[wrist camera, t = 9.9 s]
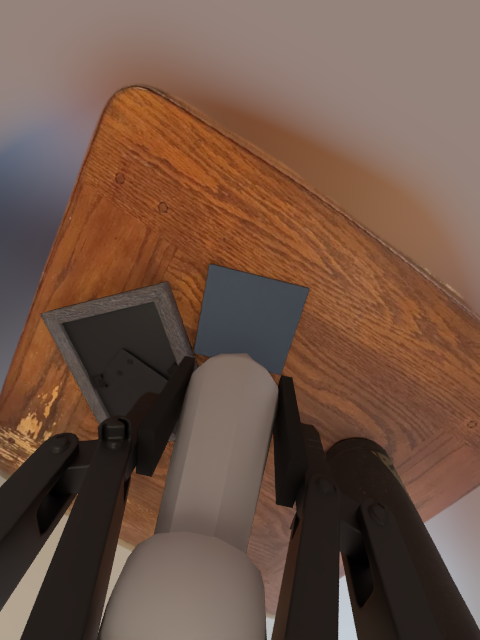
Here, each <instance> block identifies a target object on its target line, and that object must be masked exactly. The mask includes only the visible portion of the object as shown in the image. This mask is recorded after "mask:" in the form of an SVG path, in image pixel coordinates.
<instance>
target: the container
mask: <svg viewBox="0 0 480 640" xmlns="http://www.w3.org/2000/svg"><path fill="white" fill-rule="evenodd" d="M326 462H327V466H328V469H329V473H330V476H331V478H332V479H333V480H334V481H335V482H336V483H337V485H338V487H339V489H340V490H341V491H342V492H343V493H345V494H347V495H348V496H350V497H352V498H354V499H356V500H358V501H360V502H361V501H362V499H364V498H366V497H370V498H374V499H376V500H379V501H380V502H381V503H383V504H384V505H385V506H386V507H387V508H388V509H389V510H390V511H391V513H392V514H393V516H394V518H395V520H396V522H397V525H398V527H399V530H400V532H401V535H402V537H403V540H404V542H405V544H406V547H407V549H408V552H409V554H410V557H411V559H412V562H413V564H414V567H415V569H416V572H417V574H418V576H419V579H420V581H421V584H422V586H423V589H424V591H425V594H426V596H427V599H428V601H429V604H430V606H431V609H432V611H433V613H434V616H435V618H436V621H437V623H438V626H439V628H440V631H441V633H442V636H443V638H444V640H480V630H479V628H478V626H477V624H476V622H475V620H474V618H473V616H472V615H471V613H470V611H469V609H468V607H467V605H466V604H465V601H464V600H463V598H462V596H461V594H460V592H459V590H458V588H457V586H456V585H455V583H454V581H453V579H452V577H451V576H450V573H449V572H448V569H447V567H446V565H445V564H444V562H443V560H442V558H441V556H440V554H439V552H438V550H437V548H436V546H435V544H434V542H433V540H432V538H431V537H430V535H429V533H428V531H427V529H426V527H425V525H424V523H423V521H422V519H421V517H420V515H419V513H418V512H417V510H416V508H415V506H414V504H413V502H412V500H411V498H410V496H409V494H408V493H407V491H406V489H405V487H404V485H403V483H402V481H401V479H400V477H399V476H398V474H397V472H396V470H395V468H394V466H393V464H392V462H391V460H390V458H389V457H388V455H387V453H386V452H385V450H384V449H383V448H382V447H381V446H379V445H378V444H376V443H374V442H372V441H370V440H367V439H361V438H354V439H348V440H344V441H342V442H339V443H337V444H336V445H334V446H333V447H332V448H331V449H330V451H329V452H328V454H327V457H326Z"/></svg>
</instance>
